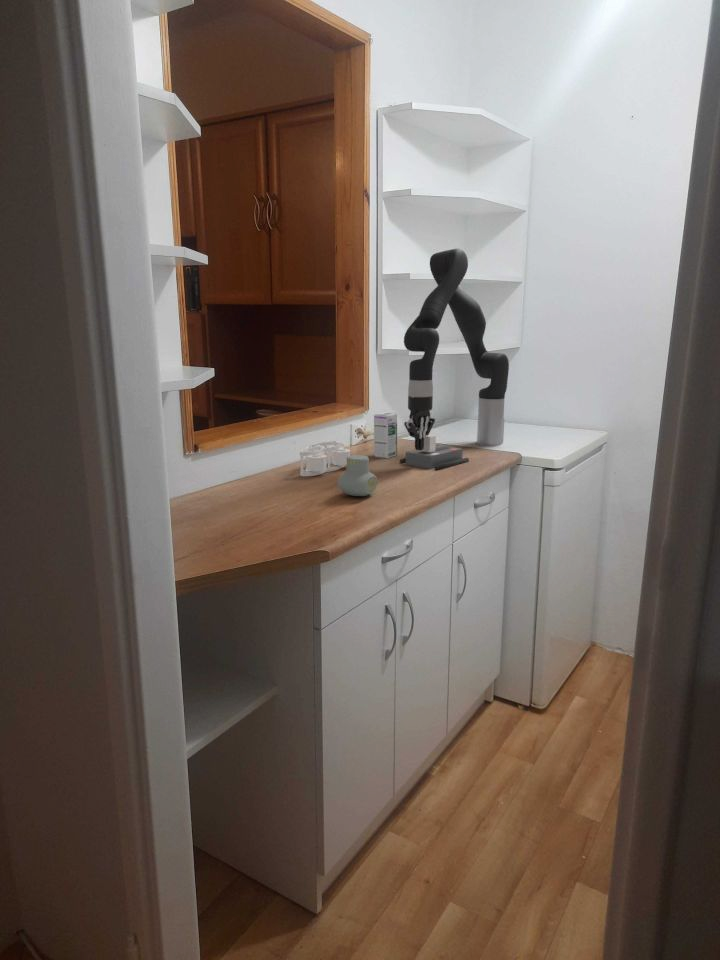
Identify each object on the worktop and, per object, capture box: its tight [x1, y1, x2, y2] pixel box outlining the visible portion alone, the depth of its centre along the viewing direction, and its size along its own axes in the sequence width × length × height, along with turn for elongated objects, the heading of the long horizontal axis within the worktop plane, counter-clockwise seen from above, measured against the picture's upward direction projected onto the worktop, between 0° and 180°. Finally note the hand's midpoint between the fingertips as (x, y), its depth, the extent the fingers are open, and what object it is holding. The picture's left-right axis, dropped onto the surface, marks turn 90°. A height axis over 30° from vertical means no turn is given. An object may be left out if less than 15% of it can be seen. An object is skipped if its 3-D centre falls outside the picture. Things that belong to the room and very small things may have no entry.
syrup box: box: [373, 412, 398, 459], centre depth 227 cm, size 6×6×14 cm
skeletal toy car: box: [299, 440, 351, 477], centre depth 208 cm, size 20×11×7 cm, turn 141°
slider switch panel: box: [399, 457, 470, 471], centre depth 219 cm, size 17×15×1 cm
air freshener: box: [337, 454, 379, 497], centre depth 180 cm, size 11×8×10 cm
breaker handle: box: [420, 434, 437, 453], centre depth 215 cm, size 3×4×5 cm
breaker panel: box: [405, 444, 464, 470], centre depth 219 cm, size 17×10×4 cm, turn 137°
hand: (419, 449), depth 212 cm, fingers closed
